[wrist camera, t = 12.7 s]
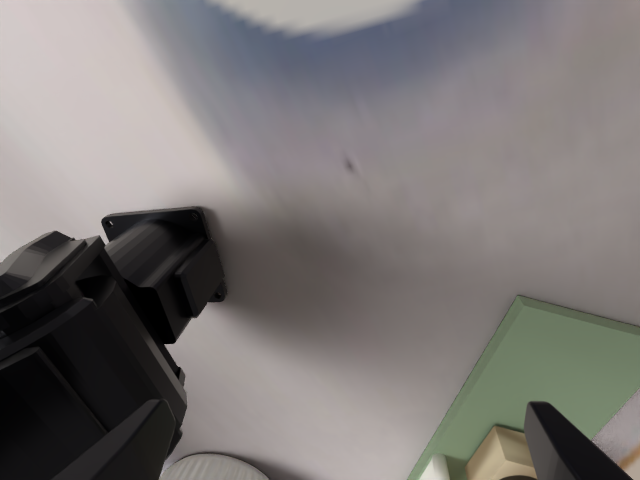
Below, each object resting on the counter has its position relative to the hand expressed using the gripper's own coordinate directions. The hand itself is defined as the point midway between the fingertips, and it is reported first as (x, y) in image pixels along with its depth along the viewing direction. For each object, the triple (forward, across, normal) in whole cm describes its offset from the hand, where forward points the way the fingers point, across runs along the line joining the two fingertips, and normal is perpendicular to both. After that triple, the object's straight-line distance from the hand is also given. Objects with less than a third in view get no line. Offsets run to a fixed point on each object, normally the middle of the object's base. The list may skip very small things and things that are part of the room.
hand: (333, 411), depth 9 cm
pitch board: (+13, -9, +18) cm, 24 cm away
